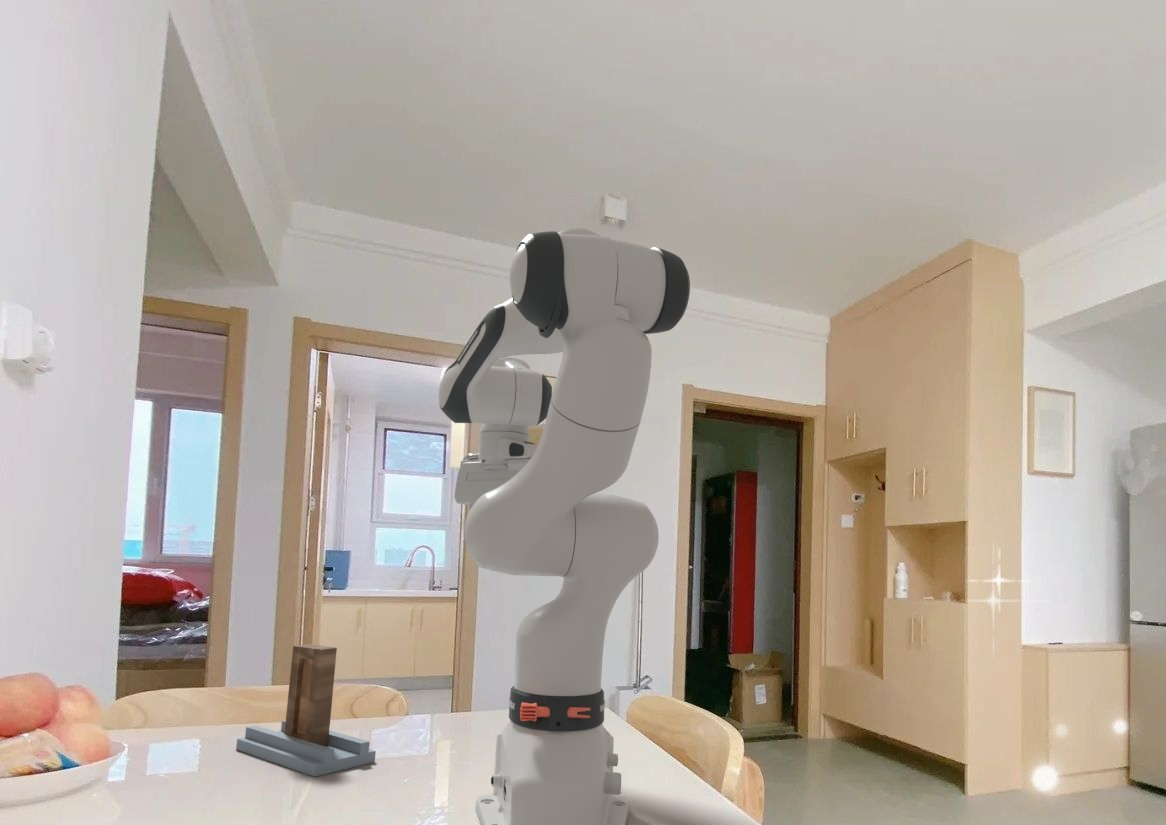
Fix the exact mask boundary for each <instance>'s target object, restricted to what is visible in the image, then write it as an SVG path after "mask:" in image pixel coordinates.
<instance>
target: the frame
mask: <svg viewBox="0 0 1166 825" xmlns="http://www.w3.org/2000/svg"><path fill="white" fill-rule="evenodd" d="M337 649H338V647H334V646H327V645H317V644H311V643H310V644H309V643H308V644H300V645H293V646H292V654H291V655H292V656H291V663H290V664H291V666H290V673H289V674H290V675H289V685H288V686H289V687H288V694H287V705H286V706H287V707H286V712H285V713H286V714H285V715H286V716H285V720H286V723H285V733H284V734H285V735H289V736H292V737H295V738H298V739H302V740H305V741H308V742H312V743H315V744H318V745H321V746H325V747H326V746H328V740H329V730H330V726H331V719H332V718H331V716H332V704H333V695H334V693H333V692H334V682H335V674H336V673H335V670H336V661H337V652H338V651H337Z"/></svg>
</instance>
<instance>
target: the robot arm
mask: <svg viewBox="0 0 1166 825" xmlns="http://www.w3.org/2000/svg"><path fill="white" fill-rule="evenodd" d="M509 287H510V292H511V298H509V299H508V300H506V301H505V302H503V303H500V304H497V305H496V306H493V307H491V308H490V309H489V310H488V312H487V313H486V314H485V316H483V318H482V320H481V321H480V322H479V323H478V326H477V327H476V328H475V329H474V331H473V333H472V334H471V336H470V338H469V339H468V341H467V342H466V344H465V346H464V347H463V349H462V351H461V352H460V353H459V355H458V357H457V358H456V359H455V361H453V363H451V364H450V365H449V366H448V367H447V368H446V369H445V371H444V373H443V376H442V378H441V380H440V384H439V388H438V401H439V408H440V410H441V411H442V412H443V413H444V415H446V417H447V418H448V419H450V420H451V421H452V422H453V423H454V424H473V423H475V424H476V423H477V424H481V427H480V430H479V438H478V451H477V452H478V453H468V454H466V455H465V456H464V457H463V459H462V460H461V461H460V464H459V465H460V466H459V468H458V473H457V476H456V482H455V488H454V489H455V490H454V499H455V500H454V501H455V502H456V504H458V505H463V506H465V505H467V506H469V511H468V514H467V516H466V520H465V524H464V541H465V545H466V548H467V551H468V553H469V556H470V557H471V559H472V560H473V562H474V563H475V564H476V565H477V566H478V567H479V568H482V569H485V570H490V571H494V572H497V573H501V574H505V575H506V574H507V575H510V576H523V577H524V576H525V577H527V576H529V577H531V576H532V577H562V578H563V583H562V587H561V589H560V591H559V593H558V594H557V596H556V597H555V598H554V599H553V600H551V601H549V602H547V603H545V604H542V605H541V606H539V607H537V608H535V609H534V610H532V611H530V612H529V613H528V614H526V615H525V616H524V617H523V619H522V620H521V621H520V624H519V625H518V628H517V630H516V637H515V639H516V641H515V660H514V679H513V680H514V682H513V685H512V687H511V688H510V692H509V693H510V694H509V698H508V718H509V722H508V723H507V725H506V726H505V727H504V728H503V729H502V730H500V732H499V733H497V734H496V742H495V743H496V744H495V756H494V758H495V759H494V771H493V774H492V776H491V778H490V784H491V786H492V793H487V794H483V795H482V794H481V795H480V796H478V797H477V798H476V804H475V809H476V814H477V815H478V819H479V820H480V824H481V825H627V822H628V818H629V813H630V804H629V803H630V802H629V800H628V799H626V798H624V797H621V796H619V795H621V793H622V773H620V772H614V767H618V764H619V755H618V754H617V753H614V741H615V740H614V739H615V738H614V736H613V735H611V733H610V732H609V731H608V730H607V729H606V727H605V726H604V724H603V723H604V722H605V709H606V700H605V691H604V690H603V688H602V675H603V674H602V669H603V655H604V645H605V636H606V629H607V625H608V621H609V618H610V615H611V613H612V610H613V608H614V606H615V604H616V602H617V600H618V599H619V597H620V595H621V594H622V592H623V591H624V590H625V588H626V587H627V586H628V585H629V584H630V583H631V582H632V581H633V580H634V579H635V578H636V577H637V576H639V575H640V574H641V573H643V572H644V571H645V570H646V569H647V568H648V567H649V566H650V565H651V563H652V561H653V560H654V558H655V555H656V554H657V550H658V546H659V528H658V524H657V521H656V518H655V516H654V514H653V512H652V511H651V509H650V508H649V507H648V506H647V505H646V504H645V503H644V502H641V501H638V500H634V499H630V498H627V497H623V496H619V495H615V494H608V493H607V494H605V493H599V492H601V491H603V490H605V489H607V488H610V487H611V486H612V485H613V484H616V483H617V482H618V480H619V479H621V477H622V476H623V474H624V473H625V471H626V470H627V468H628V465H629V462H630V459H631V455H632V453H633V452H632V451H633V449H634V444H635V442H636V438H637V434H638V431H639V428H640V425H641V420H642V418H643V413H644V409H645V406H646V405H645V404H646V401H647V397H648V390H649V386H650V385H649V384H650V378H651V369H652V356H653V355H652V353H653V352H652V350H653V349H652V346H651V342H650V339H649V337H648V336H647V335H649V334H650V335H651V334H658V333H665V332H668V331H671V330H672V329H674V328H675V327H676V326H677V324H678V323H680V321H681V319H682V318H683V316H684V315H685V313H686V310H687V308H688V303H689V299H690V292H691V280H690V274H689V271H688V269H687V267H686V265H685V262H684V261H683V259H682V258H681V257H680V256H679V255H676V254H675V253H673V252H671V251H668V250H665V249H662V248H660V247H654V246H653V247H647V246H643V245H639V244H636V243H632V242H627V241H622V240H617V239H612V238H610V237H608V236H601V235H599V234H598V233H597V232H594V231H593V230H591V229H587V228H583V227H570V228H565V229H563V230H561V231H559V232H558V231H556V230H555V231H554V230H553V231H550V230H549V231H539V232H532V233H529V234H527V235H526V236H525V237H524V238H523V239H522V240H521V241H520V242H519V244H518V245H517V247H516V251H515V253H514V255H513V258H512V261H511V263H510V268H509ZM558 353H562V357H561V361H560V365H559V368H558V371H557V375H556V378H555V381H554V385H553V386H552V385H551V383H550V381H549V379H548V378H547V377H546V376H545V375H544V373H542V372H540V371H536V370H533V369H531V367H530V365H529V364H528V363H527V362H525V361H524V360H522V359H519V358H512V357H514V356H523V355H552V354H558ZM542 422H544V425H543V429H542V432H541V435H540V437H539V441H538V444H535V443H533V442H530V434H531V433H530V430H529V427H534V426H538V425H540V424H541V423H542Z"/></svg>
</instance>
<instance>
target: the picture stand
mask: <svg viewBox="0 0 1166 825" xmlns="http://www.w3.org/2000/svg"><path fill="white" fill-rule="evenodd" d="M285 723H286V719H284V720H282V721H281V727H280V730H278V731H275V730H272V729H268V728H265V727H262V726H260V725H259V726H258V725H250V726H246V727H245V735H244V737H240V738H237V740H236V747H235V750H236V751H238V752H242V753H245V754H248V755H251V756H254V757H257V758H259V759H263V760H264V761H269V762H270V763H274V764H277V765H280V766H282V767H286V768H287V769H291V770H293V771H297V772H300V773H303V774H305V775H308V776H311V777H314V778H315V777H319V776H323V775H327V774H332V773H336V772H340V771H343V770H347V769H348V770H349V769H351V768H356V767H360V766H365V765H368V764H372V763H375V762H376V750H373V749H370V740H365V739H361V738H359V737H358V738H357V737H355V736H351V735H347V734H345V733H340V732H337V731H334V730H330V729H329V740H328V746H326V747H325V746H321V745H318V744H315V743H312V742H308V741H305V740H302V739H298V738H295V737H292V736H289V735H285V734H284V733H285Z"/></svg>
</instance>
